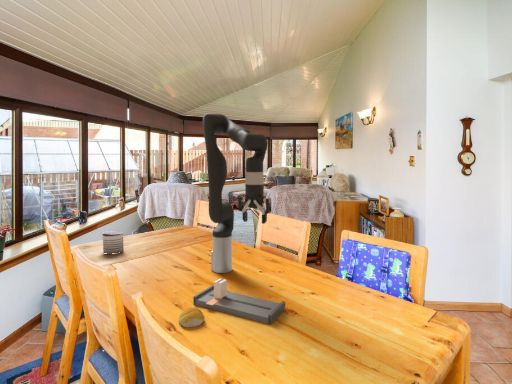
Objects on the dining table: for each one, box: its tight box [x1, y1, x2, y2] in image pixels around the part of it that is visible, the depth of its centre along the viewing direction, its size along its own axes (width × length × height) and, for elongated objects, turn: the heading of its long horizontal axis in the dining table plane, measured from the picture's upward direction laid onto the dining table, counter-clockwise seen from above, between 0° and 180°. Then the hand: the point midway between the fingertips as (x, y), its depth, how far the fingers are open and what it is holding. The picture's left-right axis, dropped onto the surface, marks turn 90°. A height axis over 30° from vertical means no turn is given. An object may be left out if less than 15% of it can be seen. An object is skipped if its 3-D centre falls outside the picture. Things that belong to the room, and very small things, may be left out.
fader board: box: [192, 284, 286, 325], centre depth 118 cm, size 32×13×3 cm, turn 62°
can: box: [102, 230, 125, 254], centre depth 188 cm, size 11×11×12 cm
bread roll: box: [178, 307, 205, 328], centre depth 109 cm, size 8×9×4 cm
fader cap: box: [213, 278, 228, 299], centre depth 122 cm, size 3×4×6 cm
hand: (254, 222), depth 133 cm, fingers open, 8 cm apart
